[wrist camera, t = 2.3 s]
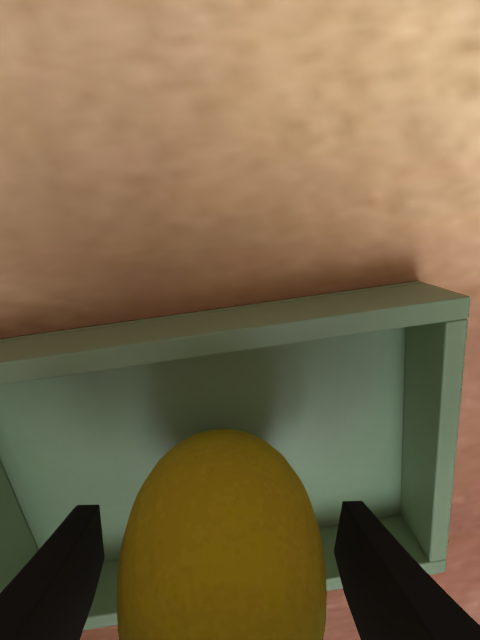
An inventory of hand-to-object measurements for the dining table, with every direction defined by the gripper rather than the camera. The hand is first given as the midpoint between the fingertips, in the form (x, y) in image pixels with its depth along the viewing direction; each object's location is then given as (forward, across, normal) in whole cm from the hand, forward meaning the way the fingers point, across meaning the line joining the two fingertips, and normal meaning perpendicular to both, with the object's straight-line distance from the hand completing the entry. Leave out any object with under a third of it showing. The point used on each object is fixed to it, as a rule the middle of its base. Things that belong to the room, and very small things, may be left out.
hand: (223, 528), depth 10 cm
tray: (+4, 0, 0) cm, 4 cm away
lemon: (+4, 0, 0) cm, 4 cm away
